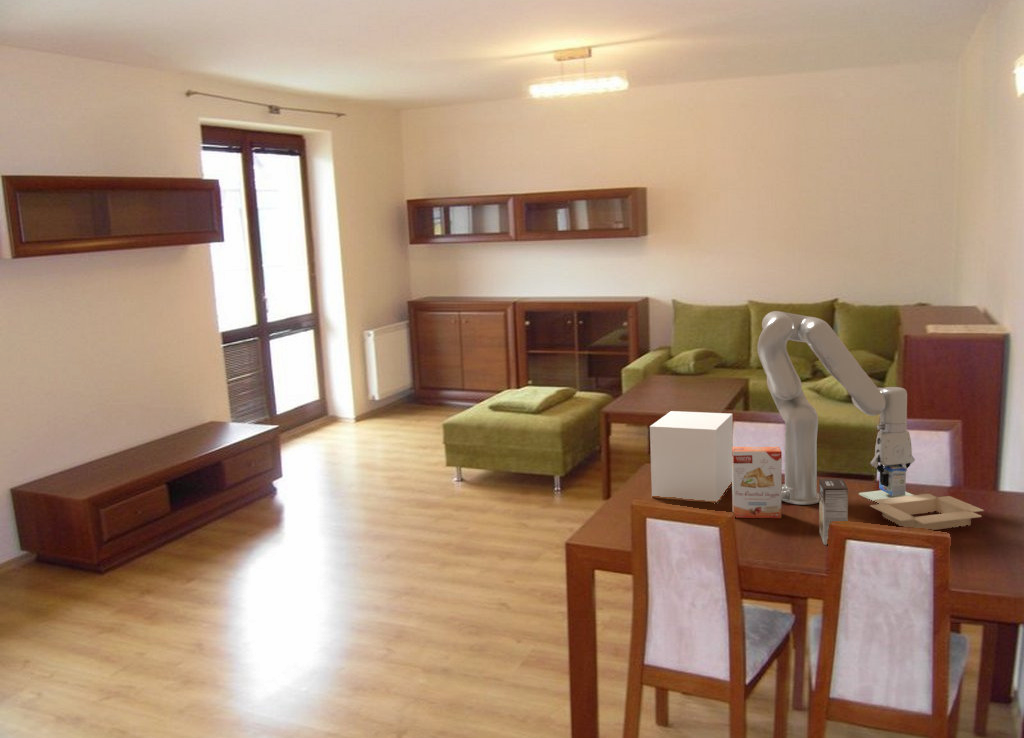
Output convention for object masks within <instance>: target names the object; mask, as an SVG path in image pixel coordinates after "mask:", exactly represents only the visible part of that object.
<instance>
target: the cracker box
mask: <svg viewBox="0 0 1024 738" xmlns="http://www.w3.org/2000/svg"><path fill="white" fill-rule="evenodd" d="M782 456H783V455H782V450H781V448H780V446H733V447H732V485H731V497H732V499H731V500H732V501H731V504H732V506H731V507H732V510H731V511H732V513H733V512H734V513H735V514H736V518H735V519H782V500H781V487H782V481H783V479H782V474H783V473H782V463H783V462H782V459H783V457H782Z"/></svg>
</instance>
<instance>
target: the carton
mask: <svg viewBox="0 0 1024 738" xmlns="http://www.w3.org/2000/svg"><path fill="white" fill-rule="evenodd" d="M874 501H875V502H878V503H880V504H877V503H876V504H870V505H869V506H870V507H871V508H873V509H875V510H876V511H879V512H881V513H882V514H881V516H883V517H885V518H887V519H888V521H889V520H890V522H891V521H892V523H893V522H895V523H896V525H897V524H898V526H899V527H901V526H904V527H914V528H925V529H932V530H931V531H935V530H942V529H951V528H952V527H953V528H959V526H961V527H967V526H966V525H968V526H971V525H972V519H976V518H982V515H981V514H978V513H977V512H984V511H985V510H984V509H982V508H980V507H978V506H975V505H973V504H970V503H968V502H965V501H962V500H961V499H958V498H955V497H953V496H951V495H946V496H944V495H943V496H935V495H933V494H931V493H921V494H913V495H911V496H903V497H894V498H886V499H877V500H874ZM875 502H874V503H875ZM934 511H937V512H936V513H938V512H939V513H938V514H929V515H921V516H920V514H927V513H928V512H930V513H935V512H934ZM940 513H941V514H940ZM918 514H919V516H913V515H918ZM883 517H882V518H883ZM885 518H884V519H885ZM887 519H886V520H887ZM895 523H894V524H895Z"/></svg>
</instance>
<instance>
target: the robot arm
mask: <svg viewBox="0 0 1024 738" xmlns="http://www.w3.org/2000/svg"><path fill="white" fill-rule="evenodd" d="M761 328H762V331H761V333H760V335H759V336H758V340H757V347H756V349H757V355H758V358H759V361H760V364H761V365H762V368H763V371H764V374H765V375H766V387H767V389H768V391H769V393H770V394H771V395H770V396H771V397H772V399H773V401H774V404H775V406H776V408H777V411H778V412H779V415H780V417H781V418H782V420H783V421H784V423H785V430H784V483H783V484H782V483H781V502H785V503H788V504H790V505H791V504H792V505H801V506H802V505H809V506H810V505H815V504H818V503H819V492H818V491H817V486H818V484H817V481H818V479H817V477H818V476H817V475H818V474H817V472H818V471H817V470H818V469H817V467H818V466H817V463H818V462H817V459H818V458H817V457H818V456H817V451H818V450H817V449H818V448H817V442H818V441H817V438H818V429H819V428H818V427H819V417H818V413H817V410H816V408H815V407H814V406H813V405H812V404H811V403H810V402H809V401H808V399H807V397H806V395H805V393H804V390H803V389H802V387H803V386H802V380H801V378H800V376H799V375H798V373H797V370H796V369H795V366H794V365H793V362H792V360H791V358H790V355H789V353H788V350H787V344H788V342H789V341H794V342H802V343H806V344H807V346H808V347H809V349H811V351H812V352H813V353H814V355H815V356H816V358H817V359H818V360H819V361H820V363H821V364H822V366H823V367H824V368H825V369H826V370H827V372H828V373H829V375H831V376H832V377H833V378H834V379H835V380H836V382H838V383H839V384H841V386H842V387H844V389H845V390H846V392H847V393H848V394H849V395H850V397H851V402H852V404H853V405H854V406H855V407H856V408H857V409H858V410H860V411H861V412H862V413H864V414H865V415H867V416H873V417H874V416H878V415H879V424H877V425H876V429H877V430H879V431H878V432H877V434H876V435H877V436H876V440H875V441H876V442H875V446H874V447H875V448H874V449H875V450H874V457H873V458H872V460H871V461H870V463H869V464H870V465H871V466H872V467H874V468H875V469H876V470H877V471H878V472H879V478H880V484H881V485H883V486H886V487H887V486H888V481H889V475H888V474H887V470H888V466H889V465H899V466H901V467H903V468H906V472H907V471H908V469H909V467H911V465H913V463H914V462H915V461H916V459H915V458H914V456H913V448H912V440H911V435H910V431H909V430H908V429H907V425H908V423H907V420H908V408H907V407H908V393H907V390H906V389H905V388H903V387H899V386H887V387H878V386H877V385H876V384H875V383H874V381H873V380H872V379H871V378H870V376H869V375H868V373H867V372H866V371H865V370H864V369H863V368H862V366H861V364H860V363H859V362H858V360H856V358H855V357H854V356H853V354H852V353H851V352H850V350H848V348H847V347H846V345H845V344H844V343H843V342H842V340H841V339H840V338H839V336H838V335H837V333H836V332H835V330H834V329H833V328H832V327H831V325H829V323H828V322H827V321H825V320H823V319H821V318H819V317H815V316H809V315H807V316H806V315H802V314H795V313H791V312H785V311H778V310H773V311H770V312H768V313H767V314H765V315H764V317H763V318H762V322H761ZM878 463H879V464H878ZM883 467H884V468H883Z"/></svg>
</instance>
